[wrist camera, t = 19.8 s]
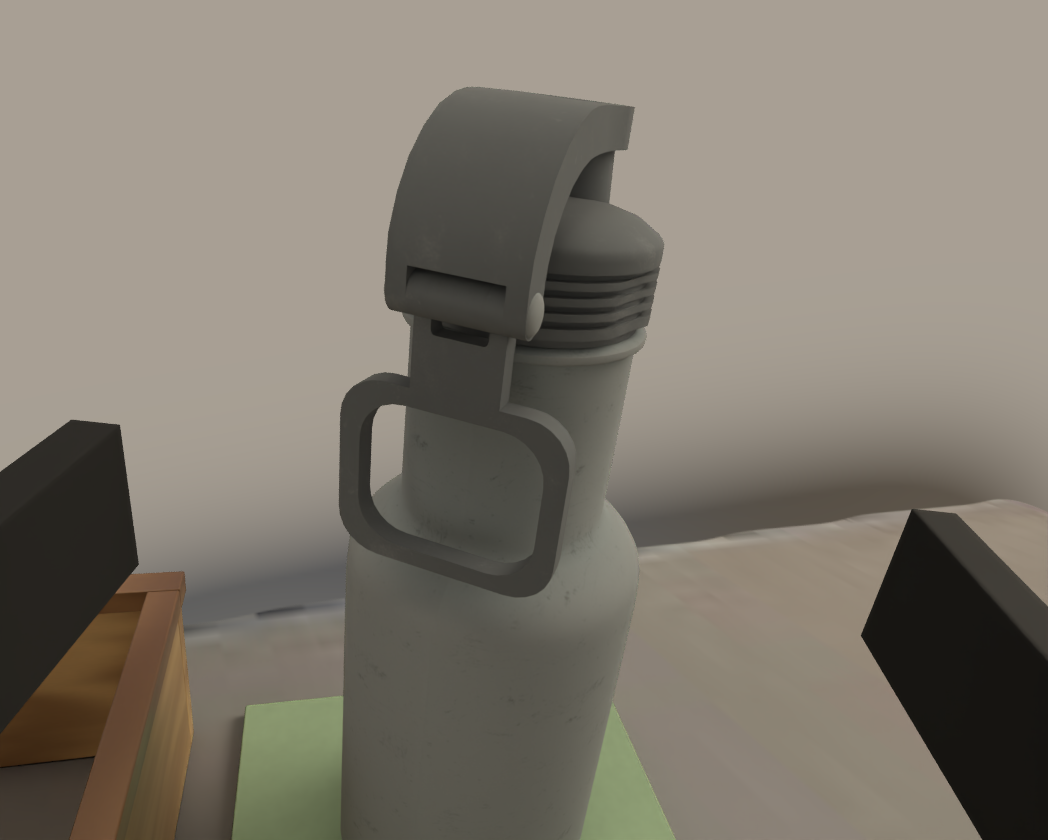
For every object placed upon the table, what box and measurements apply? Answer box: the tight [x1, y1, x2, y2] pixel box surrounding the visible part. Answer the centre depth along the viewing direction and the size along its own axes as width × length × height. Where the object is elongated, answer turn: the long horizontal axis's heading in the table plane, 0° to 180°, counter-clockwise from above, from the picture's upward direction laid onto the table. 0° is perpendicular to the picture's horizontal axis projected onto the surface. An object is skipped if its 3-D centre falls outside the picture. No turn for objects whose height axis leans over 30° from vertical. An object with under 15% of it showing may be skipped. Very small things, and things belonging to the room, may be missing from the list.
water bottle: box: [339, 87, 664, 840], centre depth 24 cm, size 10×10×28 cm
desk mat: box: [231, 696, 676, 840], centre depth 30 cm, size 18×16×1 cm
